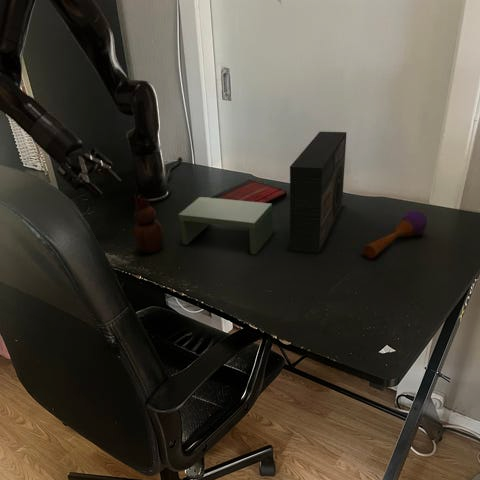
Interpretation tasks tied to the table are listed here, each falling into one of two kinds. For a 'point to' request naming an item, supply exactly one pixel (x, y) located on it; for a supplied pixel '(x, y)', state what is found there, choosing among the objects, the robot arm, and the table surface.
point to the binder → (252, 192)
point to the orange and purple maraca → (398, 232)
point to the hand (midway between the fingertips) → (110, 190)
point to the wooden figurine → (147, 227)
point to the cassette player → (316, 191)
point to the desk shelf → (228, 219)
